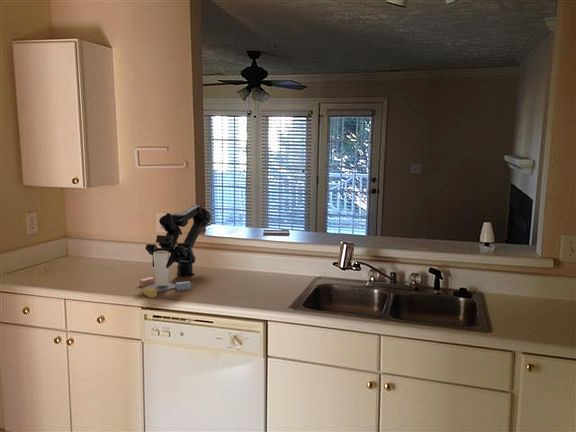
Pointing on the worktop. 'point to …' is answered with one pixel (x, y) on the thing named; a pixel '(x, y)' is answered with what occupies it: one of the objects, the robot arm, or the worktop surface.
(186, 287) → the brick slate blue
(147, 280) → the brick terracotta
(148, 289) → the brick mustard
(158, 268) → the drinking glass
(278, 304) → the worktop surface
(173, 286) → the slate coaster
